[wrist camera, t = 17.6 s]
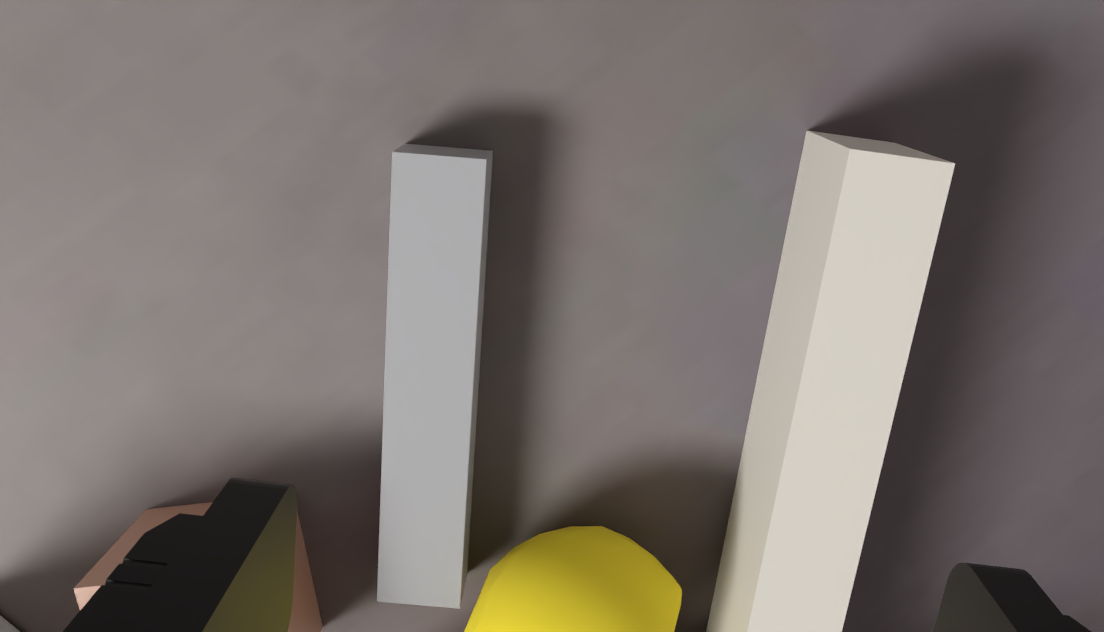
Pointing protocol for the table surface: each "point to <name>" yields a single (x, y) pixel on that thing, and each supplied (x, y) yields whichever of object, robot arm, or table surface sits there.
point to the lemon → (577, 586)
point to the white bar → (828, 381)
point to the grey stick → (432, 370)
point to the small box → (6, 626)
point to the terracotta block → (304, 605)
